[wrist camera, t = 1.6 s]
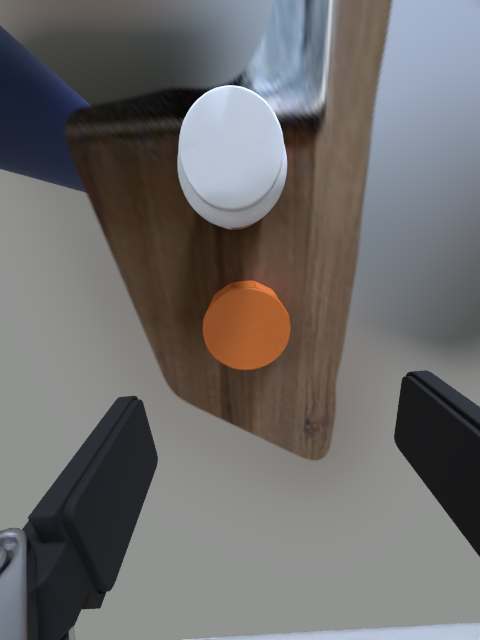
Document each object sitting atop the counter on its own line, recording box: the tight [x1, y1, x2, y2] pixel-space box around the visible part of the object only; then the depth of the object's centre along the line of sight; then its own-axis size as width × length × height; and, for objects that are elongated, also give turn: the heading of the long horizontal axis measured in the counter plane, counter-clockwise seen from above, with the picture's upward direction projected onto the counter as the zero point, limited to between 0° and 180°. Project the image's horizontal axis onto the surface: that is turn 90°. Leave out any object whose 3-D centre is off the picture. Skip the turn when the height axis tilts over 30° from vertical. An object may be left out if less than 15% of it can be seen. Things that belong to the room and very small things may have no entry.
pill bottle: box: [177, 86, 287, 230], centre depth 16 cm, size 6×6×11 cm
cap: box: [203, 280, 290, 370], centre depth 23 cm, size 8×8×4 cm
